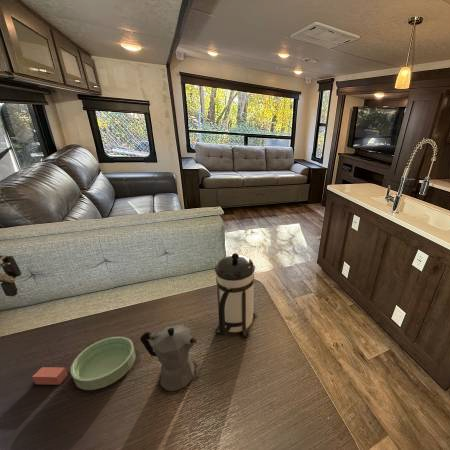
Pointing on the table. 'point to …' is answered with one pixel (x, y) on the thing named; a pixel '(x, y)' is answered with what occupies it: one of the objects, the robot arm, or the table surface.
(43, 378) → the eraser
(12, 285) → the robot arm
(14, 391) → the table surface
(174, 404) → the table surface
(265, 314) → the table surface
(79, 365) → the bowl
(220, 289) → the coffee press
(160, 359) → the coffeepot
